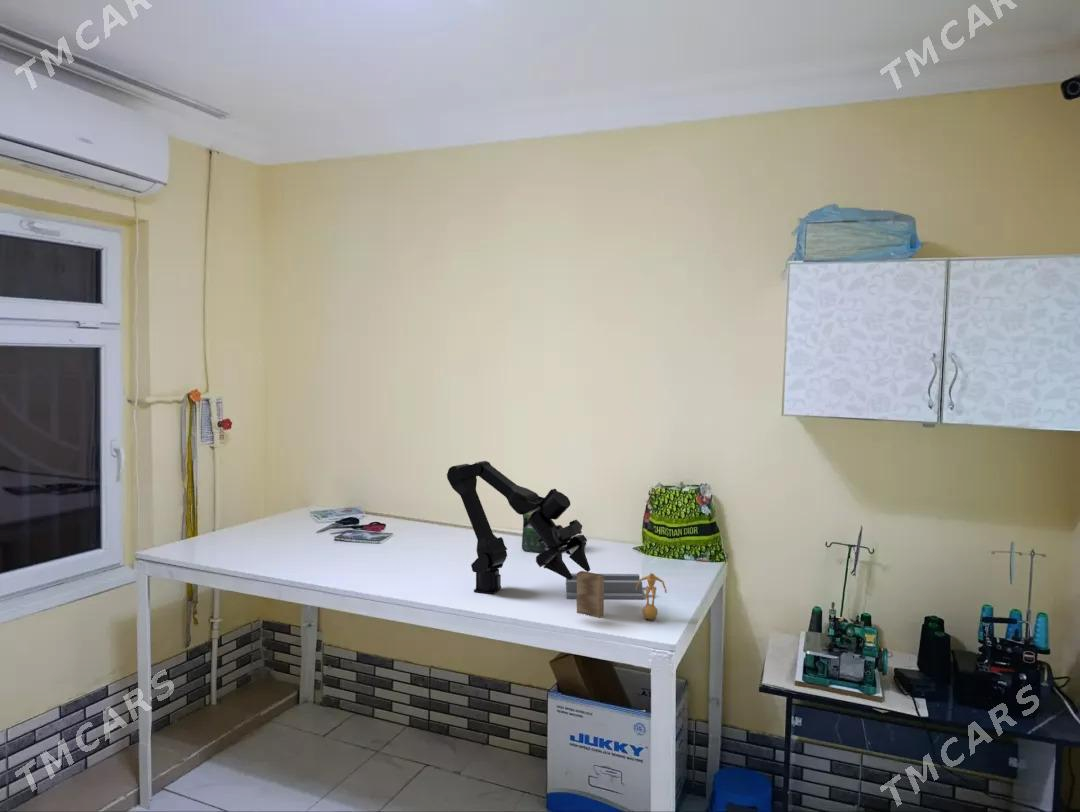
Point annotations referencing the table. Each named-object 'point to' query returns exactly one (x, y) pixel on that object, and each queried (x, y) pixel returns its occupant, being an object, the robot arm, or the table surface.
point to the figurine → (650, 609)
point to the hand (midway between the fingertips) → (580, 574)
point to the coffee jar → (531, 538)
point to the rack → (611, 586)
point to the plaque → (590, 594)
